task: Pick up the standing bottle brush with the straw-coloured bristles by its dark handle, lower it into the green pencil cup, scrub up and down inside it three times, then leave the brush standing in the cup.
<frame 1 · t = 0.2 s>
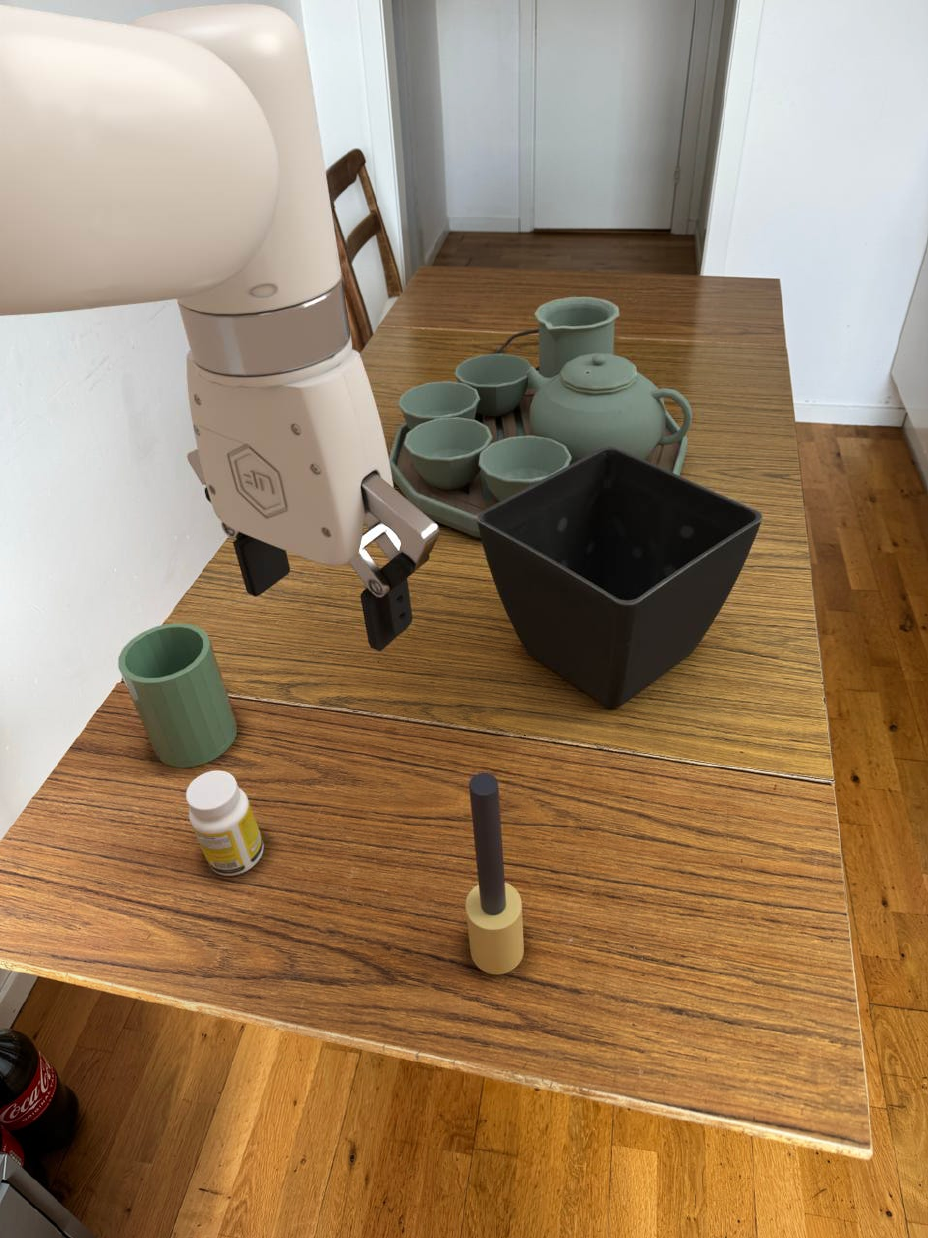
hand: (328, 608, 53), 29 cm above the table, tool pointing down, fingers open, 9 cm apart
bottle brush: (497, 949, 67), on the table
green pencil cup: (195, 736, 86), on the table
eyeglasses: (545, 363, 148), on the table
flower pot: (610, 653, 92), on the table
tea set: (536, 466, 122), on the table
supplement bottle: (236, 855, 75), on the table
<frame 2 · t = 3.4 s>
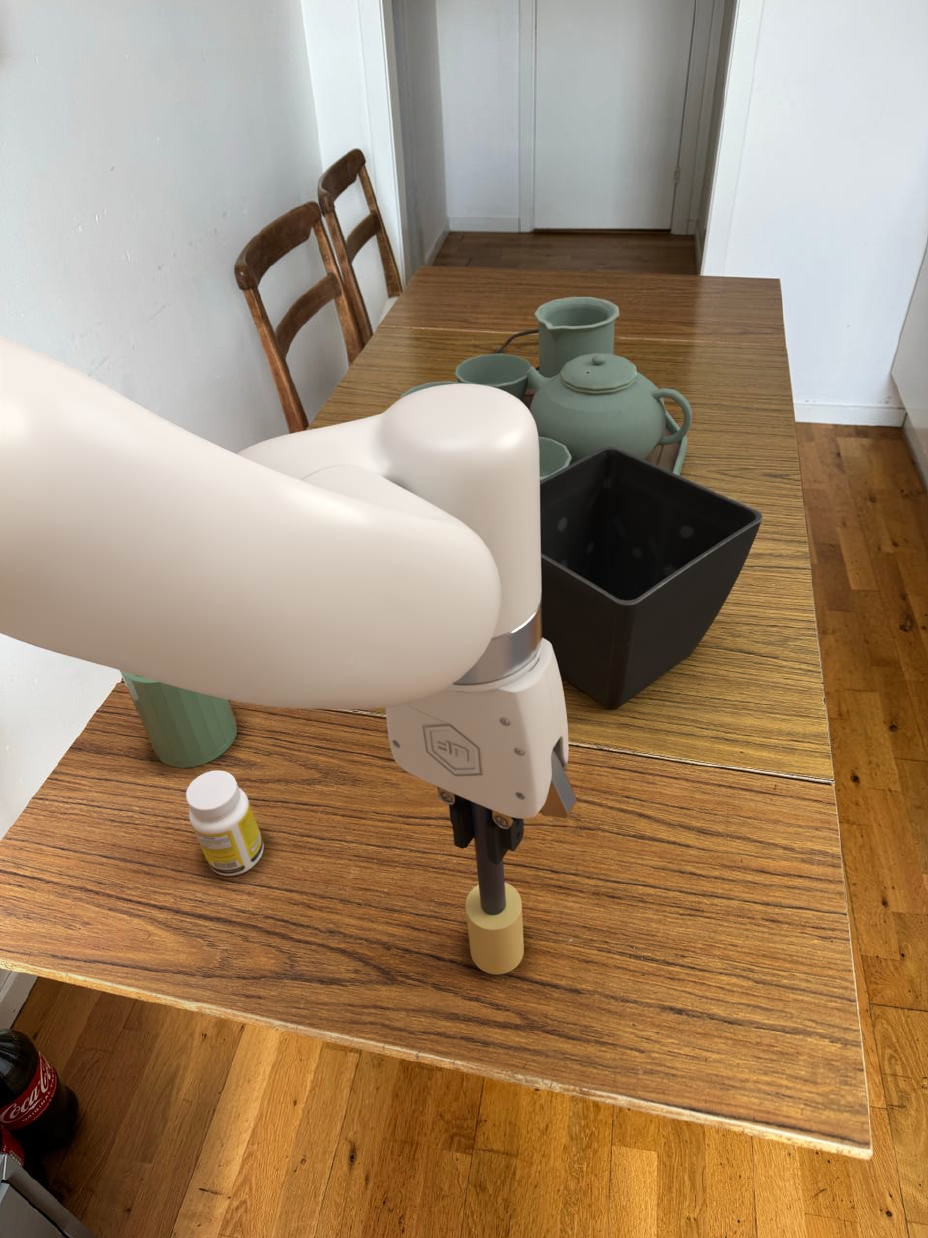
hand: (488, 838, 58), 14 cm above the table, tool pointing down, fingers closed on bottle brush
bottle brush: (497, 949, 67), on the table, touching gripper
everything else where it was.
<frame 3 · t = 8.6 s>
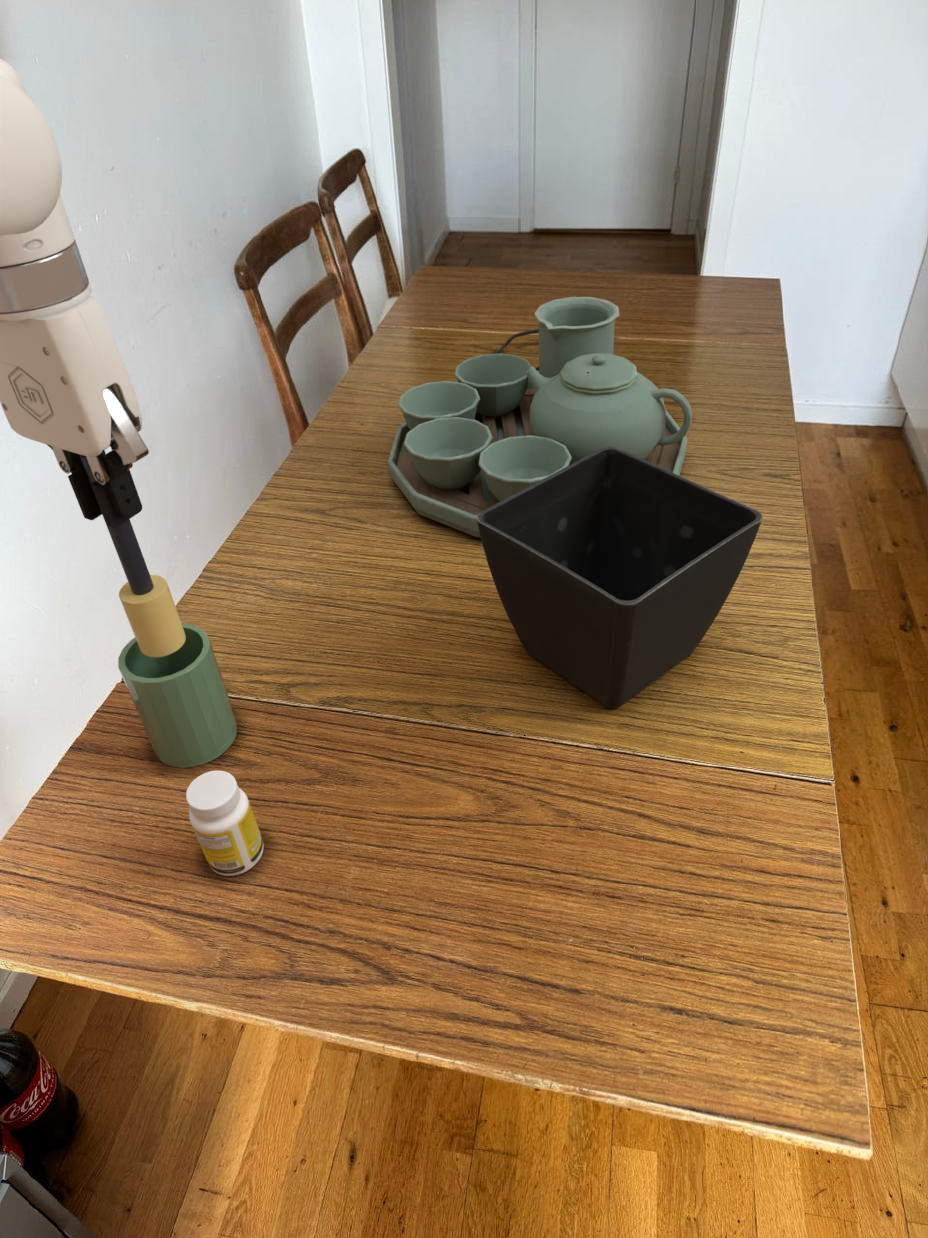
hand: (114, 513, 70), 25 cm above the table, tool pointing down, fingers closed on bottle brush
bottle brush: (163, 642, 79), point 12 cm above the table, touching gripper
everything else where it was.
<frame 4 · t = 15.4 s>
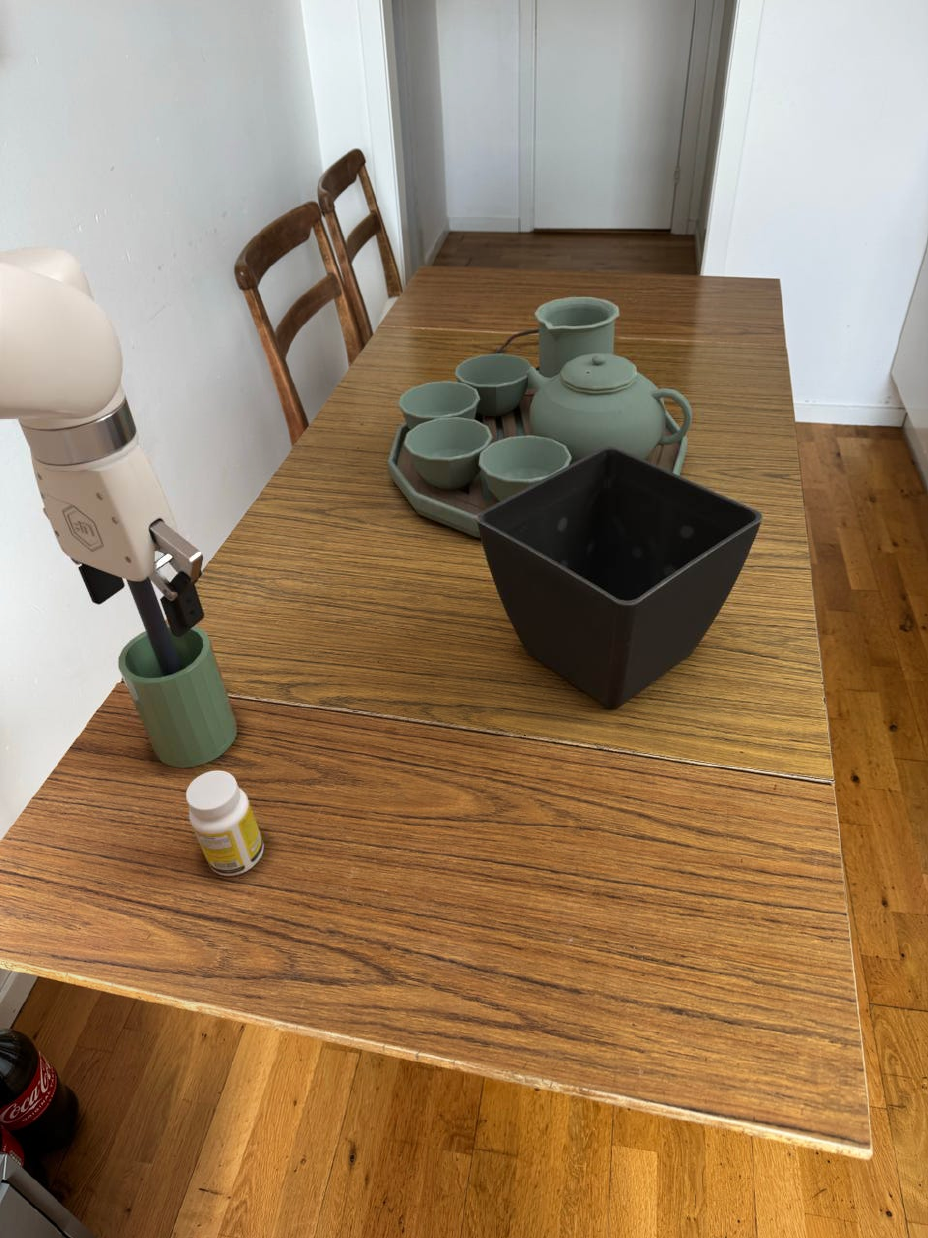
hand: (148, 610, 76), 16 cm above the table, tool pointing down, fingers open, 9 cm apart
bottle brush: (194, 729, 86), point 1 cm above the table, touching green pencil cup
everything else where it was.
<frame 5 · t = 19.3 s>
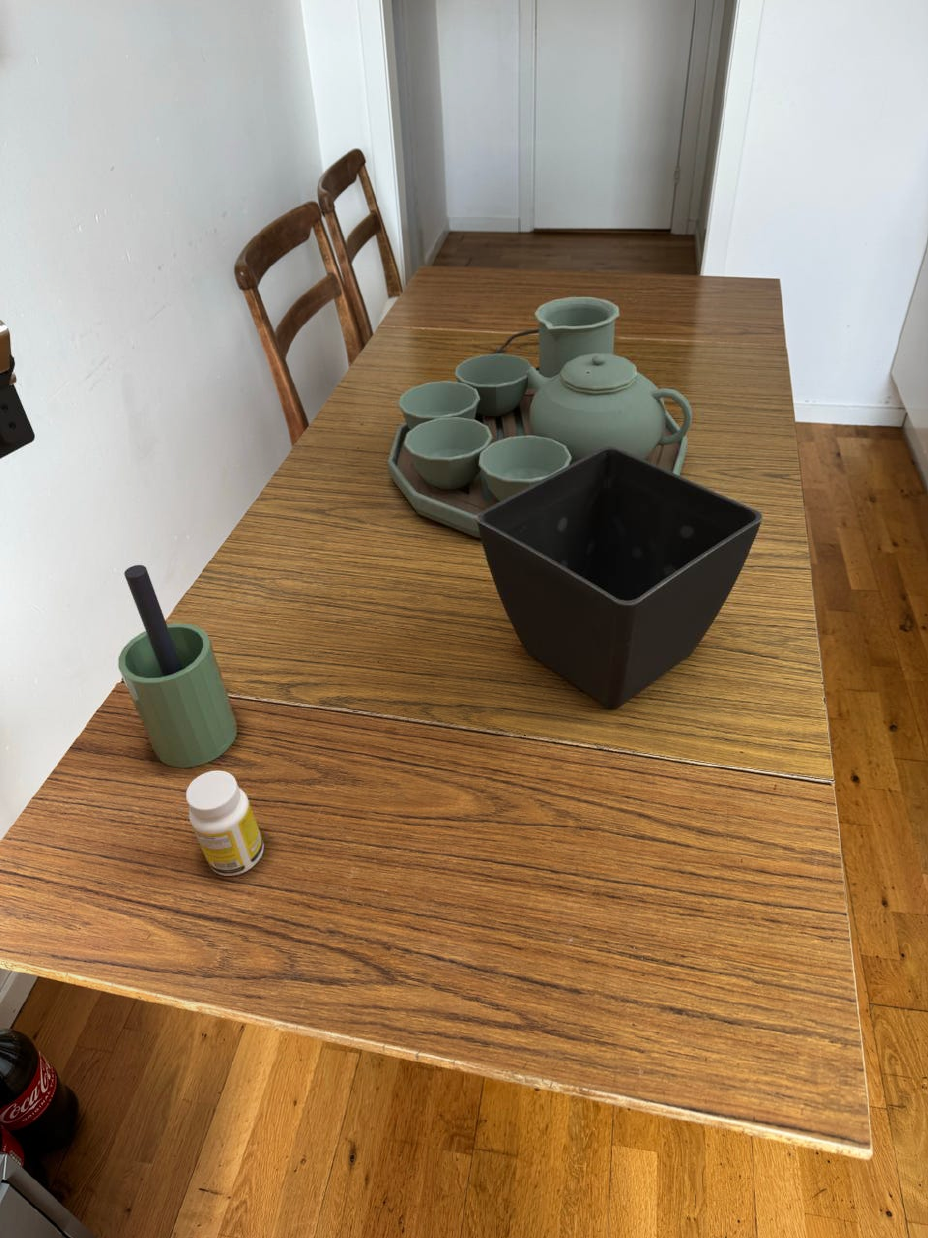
nothing on the table moved.
at the end: bottle brush 0.1 cm off-centre in the green pencil cup, point 0.8 cm above the green pencil cup's base; bottle brush tilted 0°; the gripper is holding nothing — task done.
